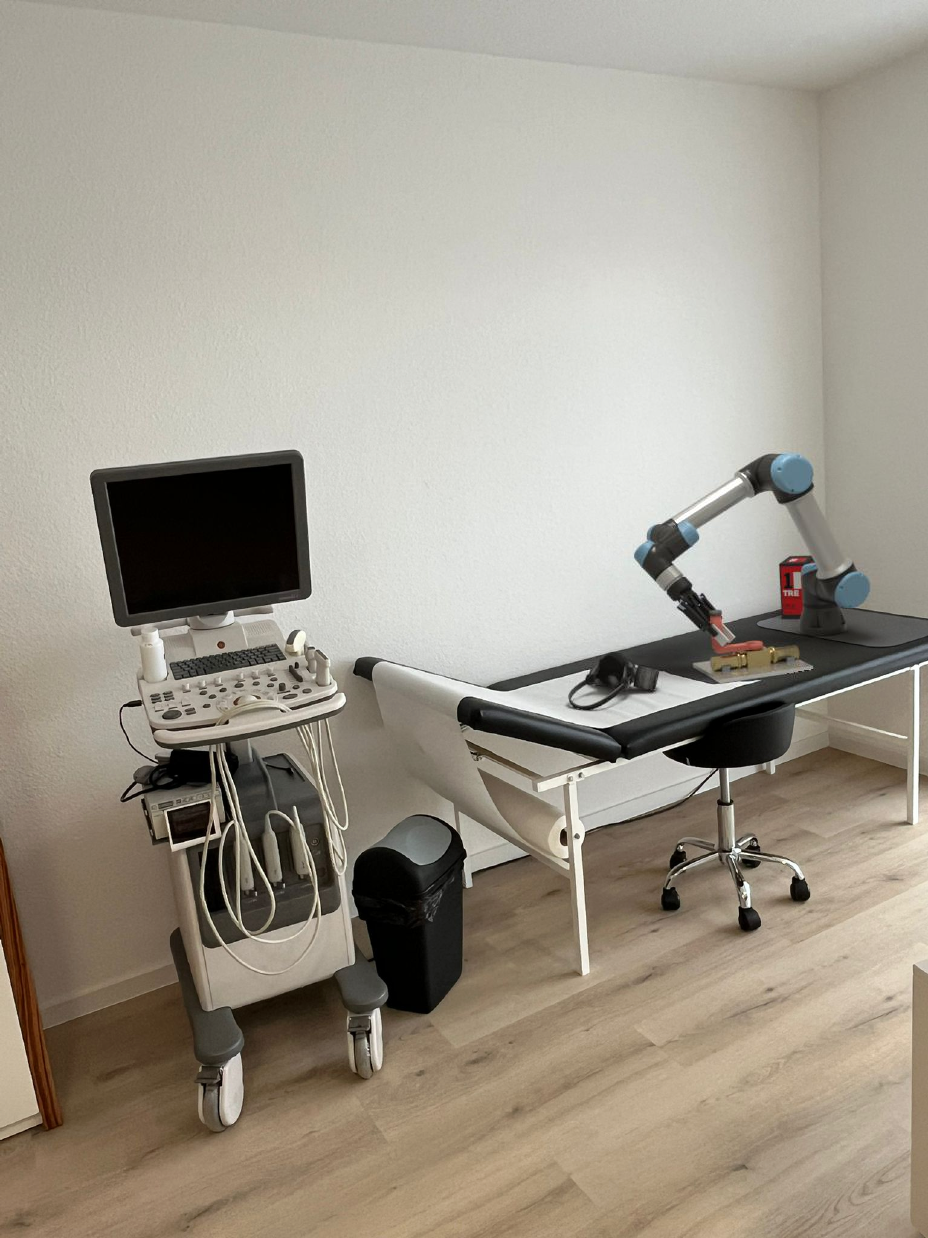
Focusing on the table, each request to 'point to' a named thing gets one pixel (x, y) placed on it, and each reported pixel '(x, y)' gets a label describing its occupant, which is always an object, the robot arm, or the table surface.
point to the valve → (753, 664)
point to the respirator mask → (616, 677)
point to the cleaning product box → (792, 585)
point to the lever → (750, 645)
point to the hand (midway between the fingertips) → (728, 641)
